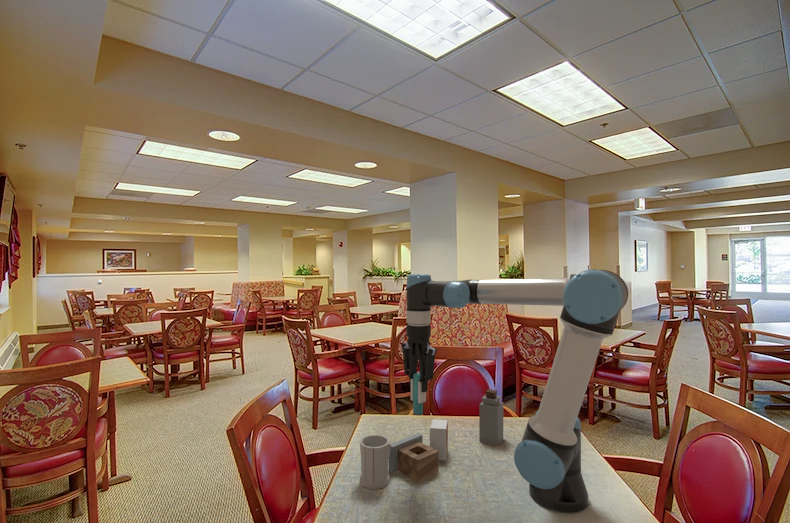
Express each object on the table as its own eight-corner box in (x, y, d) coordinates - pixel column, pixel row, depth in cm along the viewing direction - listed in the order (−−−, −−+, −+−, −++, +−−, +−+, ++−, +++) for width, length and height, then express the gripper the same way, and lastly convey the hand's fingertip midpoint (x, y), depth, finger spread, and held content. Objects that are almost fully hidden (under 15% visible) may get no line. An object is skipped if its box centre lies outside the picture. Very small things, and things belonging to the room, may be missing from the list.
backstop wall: (422, 459, 130) (422, 435, 130) (392, 473, 121) (392, 447, 121) (418, 457, 131) (418, 433, 131) (388, 470, 122) (388, 444, 123)
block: (438, 472, 121) (438, 450, 122) (417, 482, 116) (417, 460, 116) (418, 461, 128) (418, 441, 128) (397, 470, 122) (397, 449, 122)
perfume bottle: (503, 438, 145) (503, 390, 145) (497, 445, 139) (497, 395, 140) (485, 434, 149) (485, 387, 149) (479, 441, 143) (479, 391, 143)
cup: (362, 470, 122) (362, 432, 123) (391, 471, 122) (391, 432, 122) (357, 489, 112) (357, 447, 112) (389, 490, 112) (389, 448, 112)
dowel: (424, 413, 120) (425, 374, 120) (418, 415, 118) (418, 375, 118) (417, 410, 122) (418, 372, 122) (411, 412, 120) (411, 373, 120)
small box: (446, 461, 128) (446, 429, 128) (429, 459, 129) (429, 427, 129) (448, 450, 136) (448, 419, 136) (432, 448, 137) (432, 418, 137)
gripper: (446, 325, 117) (445, 404, 117) (409, 320, 129) (409, 392, 129) (429, 328, 112) (428, 410, 112) (392, 322, 124) (392, 397, 124)
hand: (418, 400), depth 120 cm, fingers closed on dowel, 2 cm apart
